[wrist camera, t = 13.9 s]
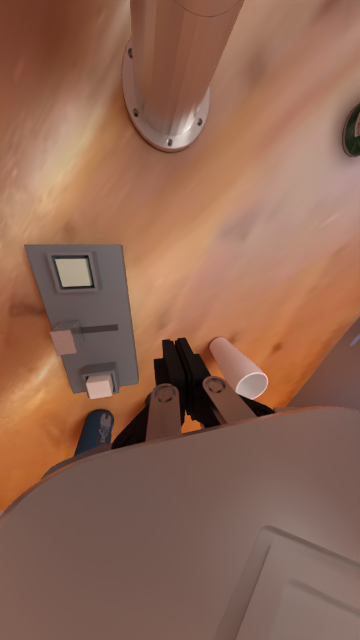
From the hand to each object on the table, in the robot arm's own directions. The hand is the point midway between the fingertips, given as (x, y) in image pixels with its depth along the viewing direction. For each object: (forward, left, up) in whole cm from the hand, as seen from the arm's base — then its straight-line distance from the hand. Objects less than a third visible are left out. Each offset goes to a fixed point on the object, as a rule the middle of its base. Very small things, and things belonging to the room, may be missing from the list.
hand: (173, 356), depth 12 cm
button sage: (-4, -12, -22) cm, 25 cm away
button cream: (+18, -12, -21) cm, 30 cm away
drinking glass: (+16, +16, -25) cm, 34 cm away
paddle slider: (+7, -16, -22) cm, 28 cm away
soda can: (+34, -16, -25) cm, 45 cm away
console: (+7, -12, -25) cm, 29 cm away
